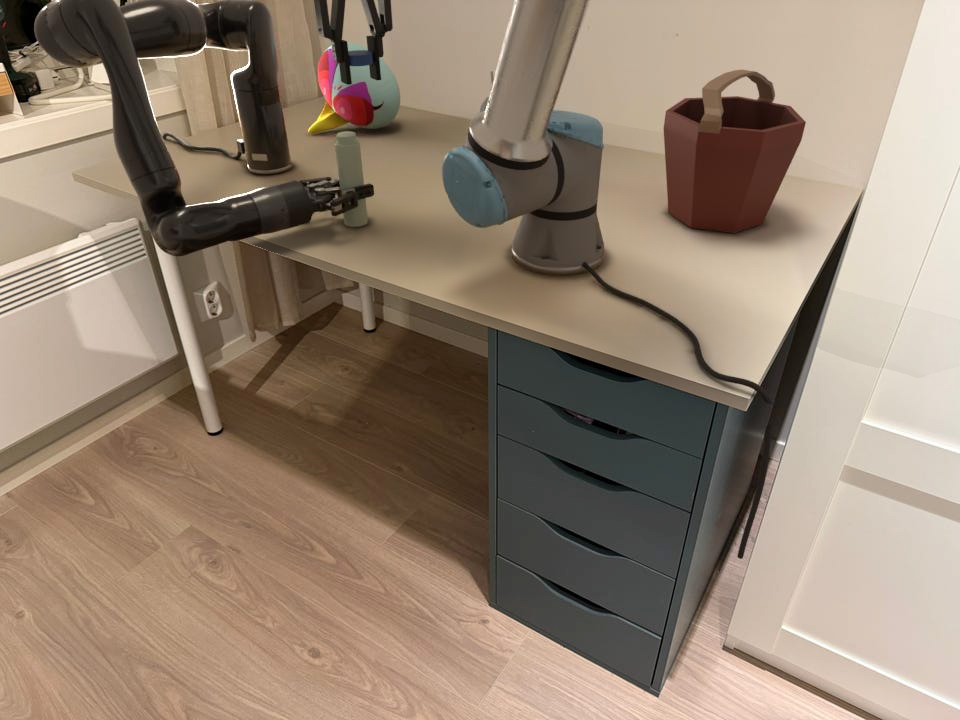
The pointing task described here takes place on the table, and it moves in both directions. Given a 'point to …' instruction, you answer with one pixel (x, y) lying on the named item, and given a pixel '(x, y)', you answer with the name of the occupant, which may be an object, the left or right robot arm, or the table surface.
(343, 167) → the bottle
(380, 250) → the table surface
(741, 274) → the table surface
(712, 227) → the bucket
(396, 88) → the toy
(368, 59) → the lid
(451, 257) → the table surface
